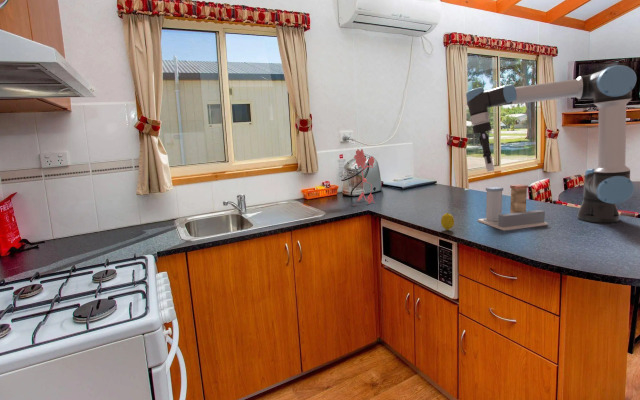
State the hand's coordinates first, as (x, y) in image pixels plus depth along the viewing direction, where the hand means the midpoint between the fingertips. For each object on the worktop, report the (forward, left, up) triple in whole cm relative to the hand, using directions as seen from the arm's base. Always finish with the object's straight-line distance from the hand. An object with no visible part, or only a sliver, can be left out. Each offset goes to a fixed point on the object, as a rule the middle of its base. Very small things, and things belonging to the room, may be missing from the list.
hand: (490, 169), depth 164 cm
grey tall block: (-2, -1, -24) cm, 24 cm away
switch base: (-9, -1, -25) cm, 27 cm away
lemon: (+19, +14, -25) cm, 34 cm away
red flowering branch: (+70, -46, -25) cm, 87 cm away
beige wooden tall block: (-13, -7, -24) cm, 28 cm away
